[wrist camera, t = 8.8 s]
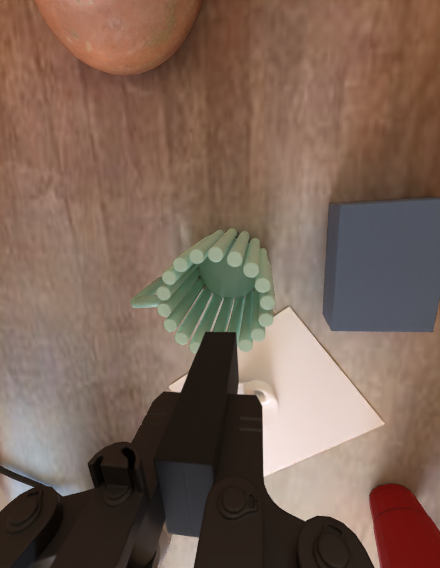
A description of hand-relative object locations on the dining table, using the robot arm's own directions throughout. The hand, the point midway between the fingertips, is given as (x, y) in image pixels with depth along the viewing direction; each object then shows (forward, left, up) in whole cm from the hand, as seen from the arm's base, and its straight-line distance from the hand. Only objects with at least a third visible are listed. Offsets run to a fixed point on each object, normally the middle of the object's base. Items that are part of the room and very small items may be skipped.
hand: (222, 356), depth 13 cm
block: (+13, 0, -18) cm, 22 cm away
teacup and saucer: (+3, -19, -18) cm, 26 cm away
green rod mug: (+4, 0, -16) cm, 16 cm away
